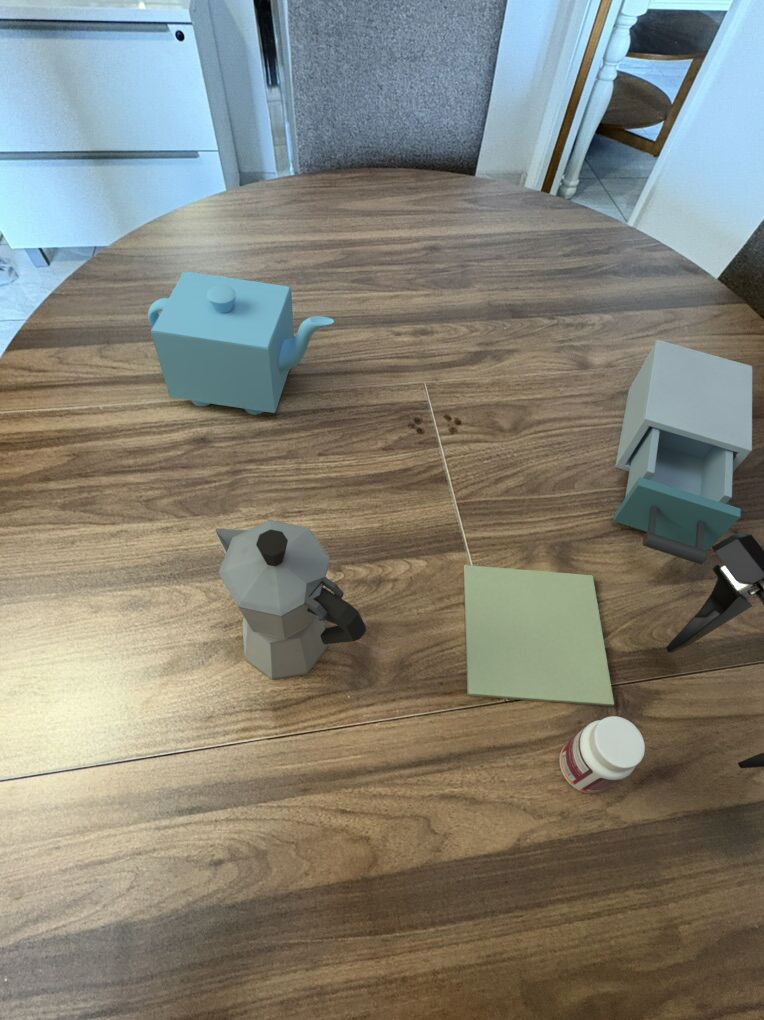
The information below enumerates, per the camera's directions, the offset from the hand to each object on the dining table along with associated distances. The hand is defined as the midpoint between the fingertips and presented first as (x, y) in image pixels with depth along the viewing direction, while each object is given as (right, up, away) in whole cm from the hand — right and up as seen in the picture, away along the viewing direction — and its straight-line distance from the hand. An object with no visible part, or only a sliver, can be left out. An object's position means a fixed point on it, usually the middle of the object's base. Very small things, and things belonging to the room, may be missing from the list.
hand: (702, 705), depth 47 cm
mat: (-9, +2, +15) cm, 18 cm away
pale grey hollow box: (+12, +24, +32) cm, 42 cm away
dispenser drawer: (+8, +15, +25) cm, 30 cm away
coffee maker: (-33, +2, +13) cm, 36 cm away
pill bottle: (-6, -8, +8) cm, 13 cm away
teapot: (-42, +31, +32) cm, 61 cm away
